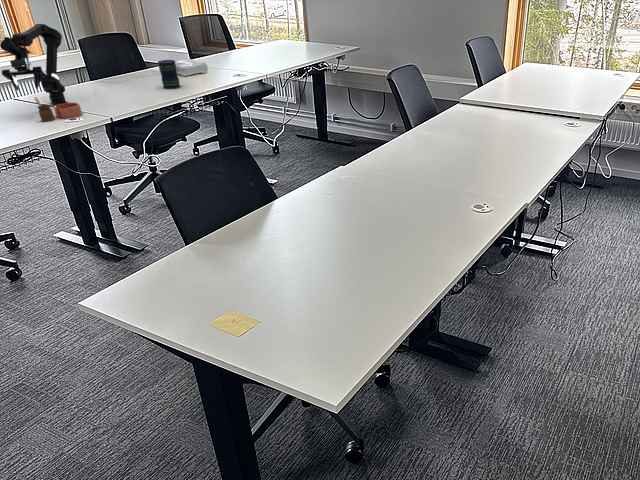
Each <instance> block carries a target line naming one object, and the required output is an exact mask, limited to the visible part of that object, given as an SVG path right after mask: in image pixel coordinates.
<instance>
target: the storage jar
mask: <svg viewBox="0 0 640 480" xmlns="http://www.w3.org/2000/svg"><path fill="white" fill-rule="evenodd" d="M175 61H176V60H174V59H163V60H158V61H157V65H158V69H159V72H160V75H161V83H162V86H163V89H165V90H174V89H179V88H180V87H181V85H180V78H179V77H178V74H177V69H176V64H175Z"/></svg>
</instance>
